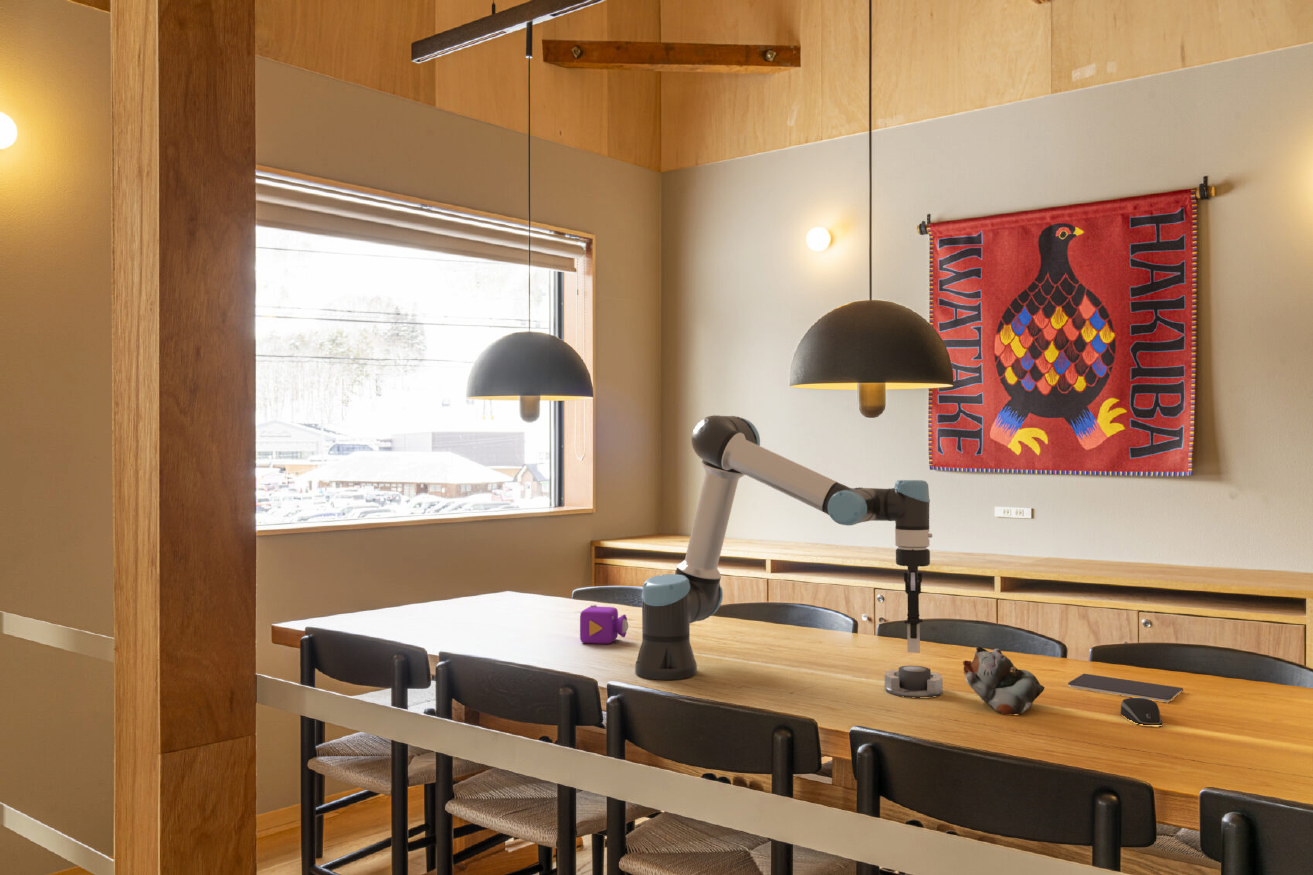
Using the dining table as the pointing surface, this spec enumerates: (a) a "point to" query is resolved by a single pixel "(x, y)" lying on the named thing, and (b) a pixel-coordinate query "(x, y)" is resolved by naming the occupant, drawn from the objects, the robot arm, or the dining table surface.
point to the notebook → (1125, 687)
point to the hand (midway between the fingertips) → (913, 651)
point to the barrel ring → (932, 690)
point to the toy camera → (601, 625)
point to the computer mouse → (1141, 711)
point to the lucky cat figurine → (1001, 682)
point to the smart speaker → (914, 677)
